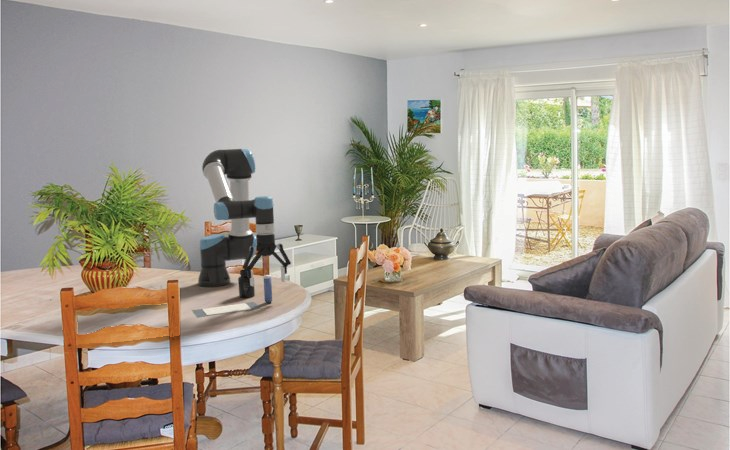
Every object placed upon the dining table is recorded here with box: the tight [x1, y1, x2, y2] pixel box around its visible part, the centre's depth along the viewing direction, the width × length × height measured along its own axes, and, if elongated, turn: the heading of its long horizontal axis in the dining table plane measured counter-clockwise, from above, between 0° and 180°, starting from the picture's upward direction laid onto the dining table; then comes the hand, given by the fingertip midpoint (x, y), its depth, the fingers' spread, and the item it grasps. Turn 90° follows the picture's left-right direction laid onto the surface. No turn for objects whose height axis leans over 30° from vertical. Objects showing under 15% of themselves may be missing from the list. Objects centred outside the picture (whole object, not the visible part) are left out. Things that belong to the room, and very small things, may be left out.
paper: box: [201, 302, 251, 316], centre depth 259 cm, size 10×18×1 cm, turn 115°
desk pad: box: [191, 301, 262, 319], centre depth 259 cm, size 12×26×1 cm, turn 115°
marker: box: [262, 274, 273, 305], centre depth 266 cm, size 3×3×12 cm
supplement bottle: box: [237, 269, 256, 299], centre depth 279 cm, size 7×7×12 cm
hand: (267, 283), depth 266 cm, fingers open, 13 cm apart
